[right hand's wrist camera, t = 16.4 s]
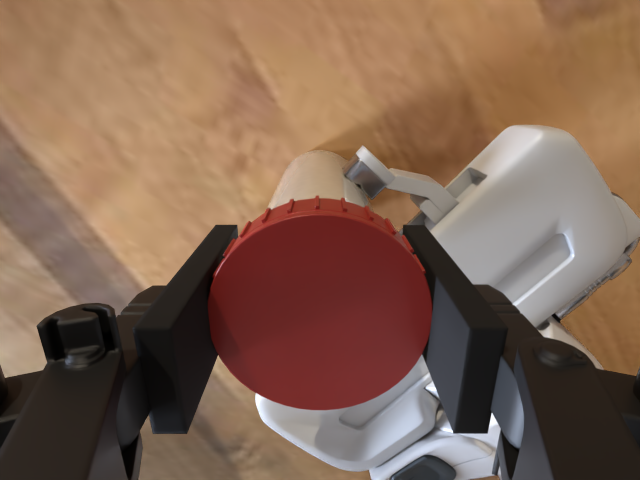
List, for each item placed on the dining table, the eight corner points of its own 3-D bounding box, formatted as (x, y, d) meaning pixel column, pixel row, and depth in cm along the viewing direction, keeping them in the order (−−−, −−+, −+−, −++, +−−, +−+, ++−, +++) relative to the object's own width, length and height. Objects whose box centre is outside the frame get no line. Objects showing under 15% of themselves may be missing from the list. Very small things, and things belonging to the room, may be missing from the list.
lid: (262, 394, 13) (254, 434, 12) (185, 231, 11) (163, 253, 10) (439, 347, 12) (456, 383, 11) (392, 166, 10) (404, 178, 9)
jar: (296, 137, 24) (262, 195, 10) (372, 167, 24) (442, 262, 10) (269, 212, 25) (208, 353, 11) (341, 238, 26) (366, 402, 12)
